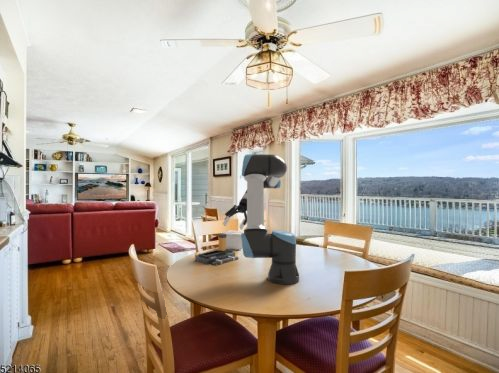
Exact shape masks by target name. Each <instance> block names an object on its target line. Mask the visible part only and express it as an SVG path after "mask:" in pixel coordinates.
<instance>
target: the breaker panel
mask: <svg viewBox="0 0 499 373" xmlns="http://www.w3.org/2000/svg"><path fill="white" fill-rule="evenodd" d="M217 250H218V249H215V250H211V251H206V252H202V253H198V254H195V257H194V258H195V262H199V263H202V264H205V265H212V264H211V262H213V261H216V259H218V260H220V259H224V258H228V256H231V257H232V256H236V252H235V251H233V249H226V250H227V251H224V252H220V253H219V252H217Z"/></svg>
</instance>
